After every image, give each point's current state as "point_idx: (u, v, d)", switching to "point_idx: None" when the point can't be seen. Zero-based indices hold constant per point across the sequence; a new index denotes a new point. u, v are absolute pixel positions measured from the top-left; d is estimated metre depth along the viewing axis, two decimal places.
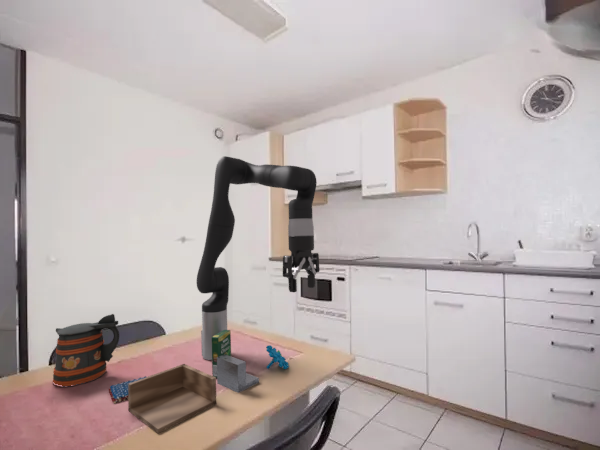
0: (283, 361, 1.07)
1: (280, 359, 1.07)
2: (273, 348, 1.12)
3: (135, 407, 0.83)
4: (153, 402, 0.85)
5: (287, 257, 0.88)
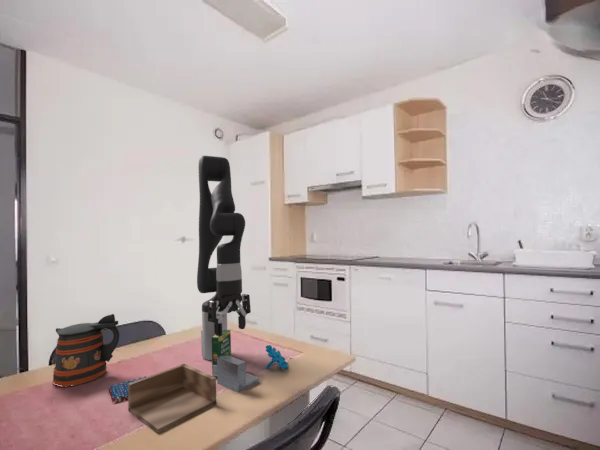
0: (282, 361, 1.07)
1: (279, 359, 1.07)
2: (273, 348, 1.12)
3: (135, 407, 0.83)
4: (153, 402, 0.85)
5: (211, 303, 0.91)
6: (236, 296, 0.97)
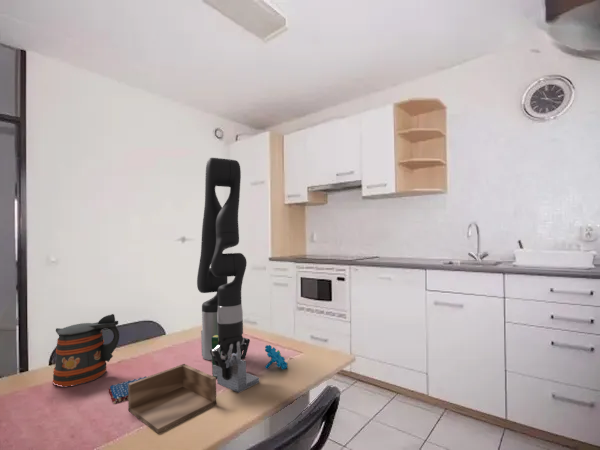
0: (282, 361, 1.07)
1: (279, 359, 1.07)
2: (272, 348, 1.12)
3: (135, 407, 0.83)
4: (153, 402, 0.85)
5: (213, 352, 0.91)
6: (237, 337, 0.97)
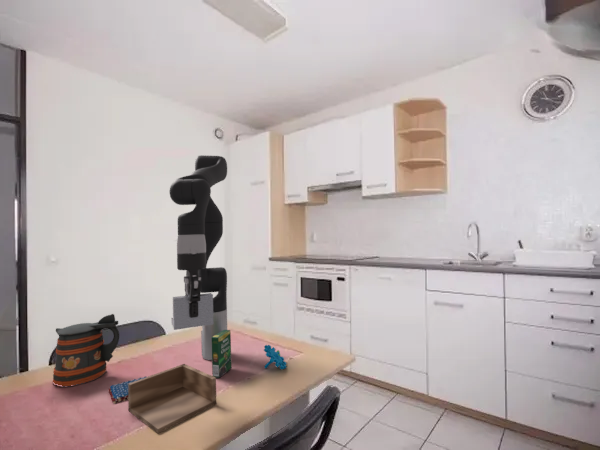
0: (281, 361, 1.07)
1: (277, 359, 1.07)
2: (272, 348, 1.12)
3: (135, 407, 0.83)
4: (153, 402, 0.85)
5: (198, 283, 0.81)
6: None
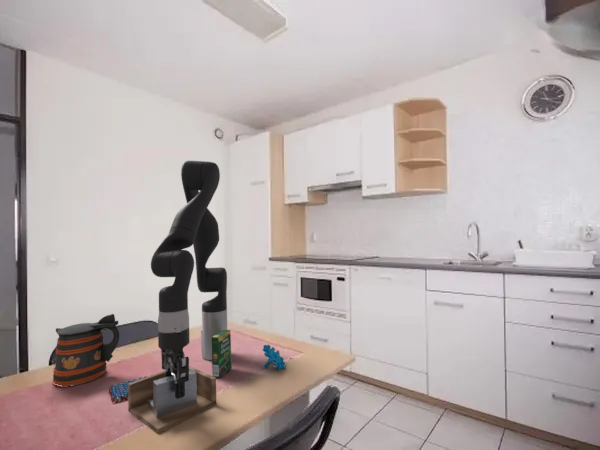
0: (279, 361, 1.07)
1: (276, 359, 1.07)
2: (272, 348, 1.12)
3: (135, 407, 0.83)
4: None
5: (185, 360, 0.77)
6: None
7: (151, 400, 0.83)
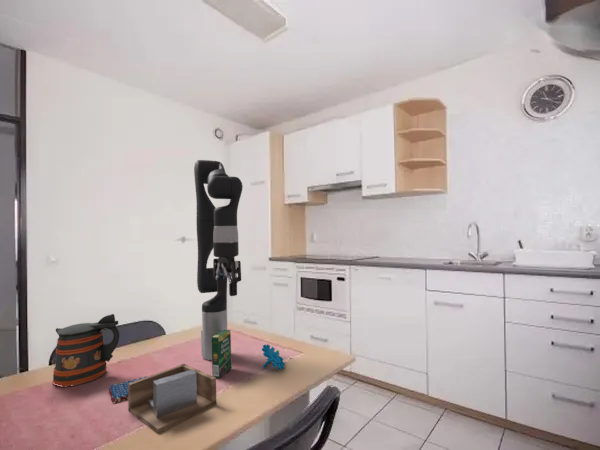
0: (279, 361, 1.07)
1: (275, 359, 1.07)
2: None
3: (135, 407, 0.83)
4: None
5: (238, 262, 0.93)
6: None
7: (151, 400, 0.83)
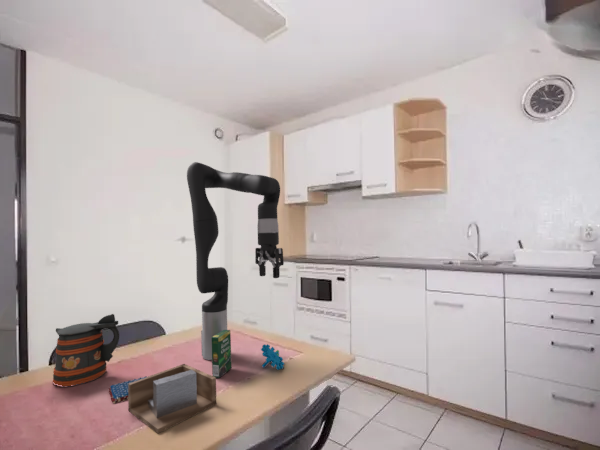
0: (278, 361, 1.08)
1: (274, 359, 1.07)
2: (271, 347, 1.13)
3: (135, 407, 0.83)
4: None
5: (280, 249, 1.09)
6: None
7: (151, 400, 0.83)
